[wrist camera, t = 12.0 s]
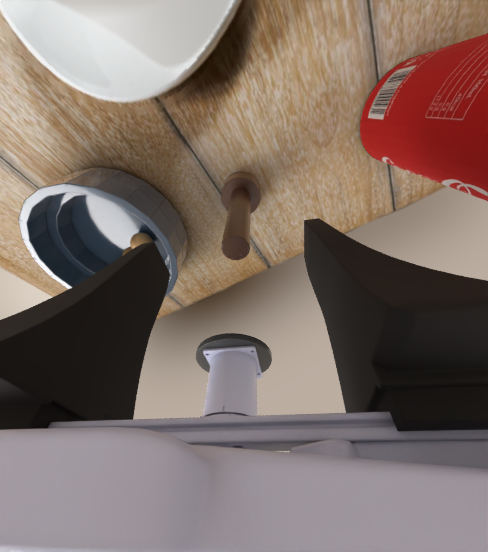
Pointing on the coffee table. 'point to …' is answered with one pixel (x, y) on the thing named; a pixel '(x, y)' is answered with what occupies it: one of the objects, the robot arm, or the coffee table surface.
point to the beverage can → (434, 116)
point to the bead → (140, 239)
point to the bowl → (98, 224)
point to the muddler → (239, 213)
